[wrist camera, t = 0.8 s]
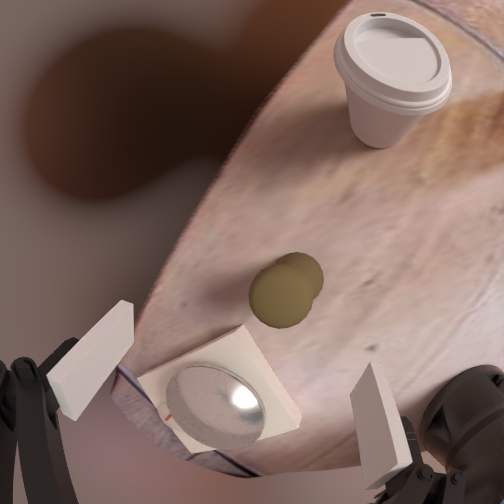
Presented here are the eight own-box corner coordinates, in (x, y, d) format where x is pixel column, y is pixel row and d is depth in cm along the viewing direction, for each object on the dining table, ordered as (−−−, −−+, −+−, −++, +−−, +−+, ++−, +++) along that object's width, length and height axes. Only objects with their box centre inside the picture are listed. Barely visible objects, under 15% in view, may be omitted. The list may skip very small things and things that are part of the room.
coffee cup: (414, 98, 25) (449, 23, 11) (413, 169, 26) (466, 120, 12) (340, 83, 28) (333, -2, 13) (333, 152, 29) (327, 87, 15)
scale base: (302, 415, 32) (297, 432, 28) (199, 443, 37) (188, 456, 33) (243, 324, 33) (231, 334, 29) (147, 370, 38) (132, 381, 35)
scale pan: (285, 432, 28) (283, 438, 26) (206, 451, 31) (203, 455, 30) (227, 347, 29) (223, 351, 28) (154, 380, 33) (149, 383, 32)
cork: (279, 310, 32) (251, 345, 21) (264, 260, 32) (228, 273, 21) (329, 297, 30) (326, 329, 19) (315, 245, 30) (304, 250, 20)
